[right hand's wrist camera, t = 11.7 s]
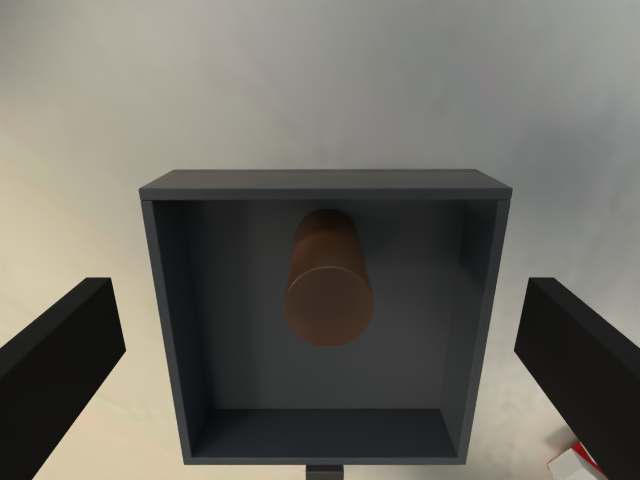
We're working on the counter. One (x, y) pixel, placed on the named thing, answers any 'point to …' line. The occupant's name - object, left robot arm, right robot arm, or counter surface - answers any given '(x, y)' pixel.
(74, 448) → the counter surface
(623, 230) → the counter surface
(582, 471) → the toy
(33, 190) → the counter surface
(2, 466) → the right robot arm
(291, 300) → the peg
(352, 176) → the tray
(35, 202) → the counter surface
